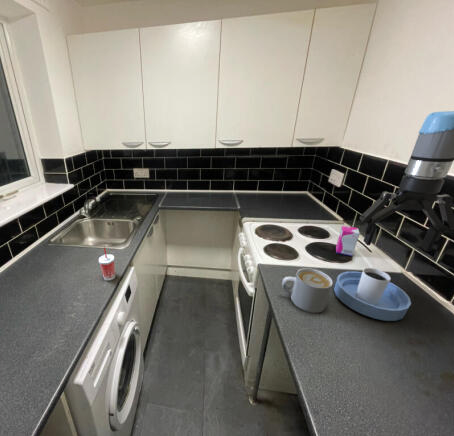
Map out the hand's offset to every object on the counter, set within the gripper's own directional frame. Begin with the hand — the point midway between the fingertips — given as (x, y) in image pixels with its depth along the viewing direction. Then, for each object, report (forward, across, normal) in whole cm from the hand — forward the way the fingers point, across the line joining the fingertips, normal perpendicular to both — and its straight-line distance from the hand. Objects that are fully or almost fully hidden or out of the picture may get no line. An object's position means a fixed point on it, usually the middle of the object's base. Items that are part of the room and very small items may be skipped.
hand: (394, 246), depth 68 cm
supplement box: (+21, 0, +31) cm, 38 cm away
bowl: (+21, -2, -1) cm, 21 cm away
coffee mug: (+21, -22, -7) cm, 31 cm away
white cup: (+20, -2, -1) cm, 20 cm away
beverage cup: (+20, -93, -16) cm, 96 cm away
